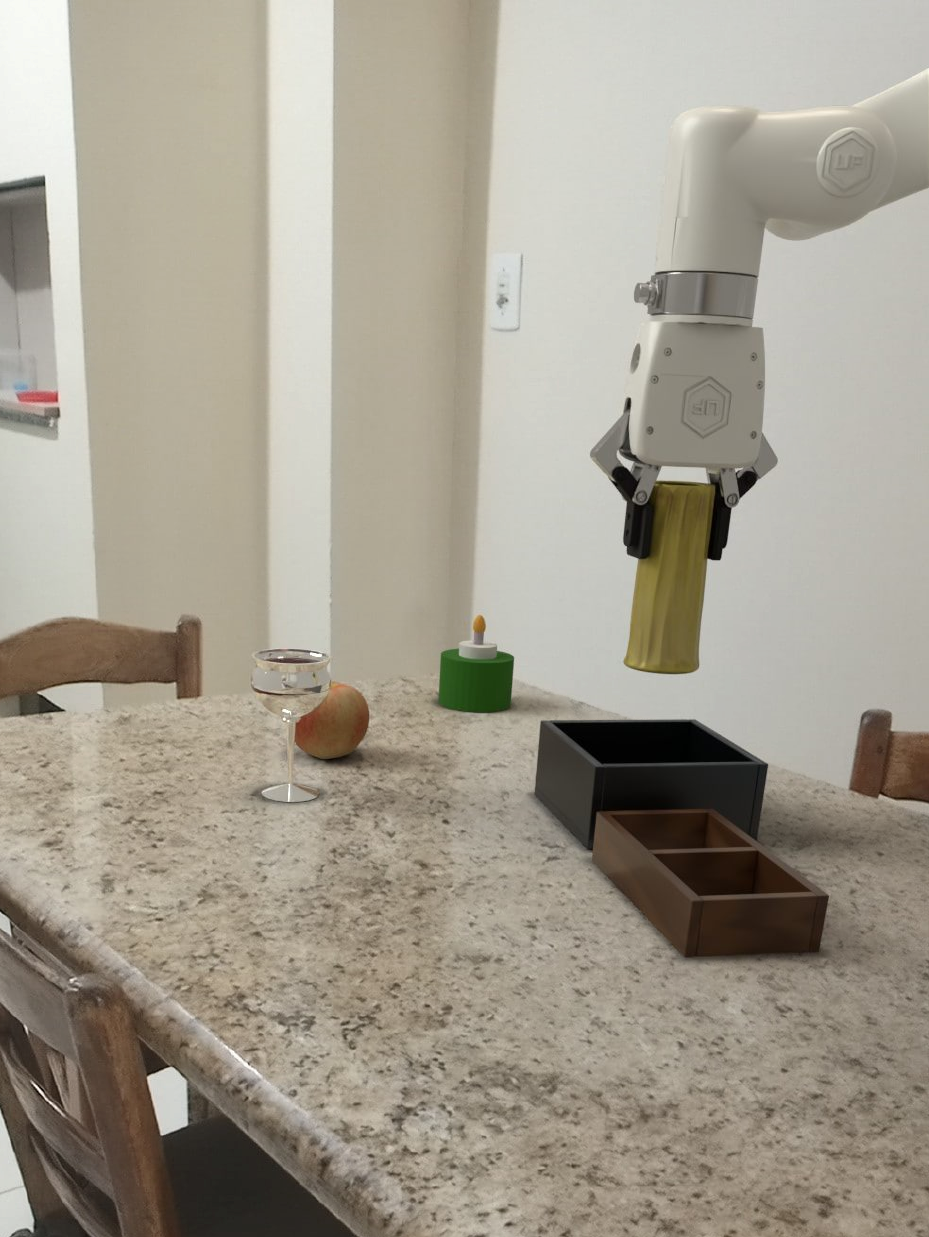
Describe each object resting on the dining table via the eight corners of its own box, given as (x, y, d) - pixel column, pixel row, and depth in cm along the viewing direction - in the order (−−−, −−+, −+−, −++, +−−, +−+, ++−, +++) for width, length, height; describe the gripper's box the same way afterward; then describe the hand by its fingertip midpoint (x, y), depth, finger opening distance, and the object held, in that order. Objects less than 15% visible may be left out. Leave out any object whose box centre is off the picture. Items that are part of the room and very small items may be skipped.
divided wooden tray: (706, 856, 103) (713, 808, 101) (819, 951, 86) (829, 895, 85) (591, 860, 101) (596, 811, 99) (684, 958, 84) (692, 900, 83)
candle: (516, 699, 151) (522, 612, 147) (504, 715, 144) (510, 624, 140) (446, 692, 153) (451, 606, 149) (431, 707, 145) (435, 617, 142)
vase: (699, 663, 108) (722, 483, 102) (697, 677, 102) (721, 488, 97) (626, 656, 109) (644, 478, 103) (619, 671, 103) (638, 483, 98)
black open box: (686, 791, 119) (695, 719, 117) (756, 844, 106) (768, 764, 104) (534, 794, 116) (540, 720, 114) (587, 849, 103) (595, 766, 100)
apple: (305, 770, 120) (306, 684, 117) (273, 748, 127) (273, 666, 124) (382, 762, 124) (385, 679, 121) (348, 741, 130) (350, 662, 127)
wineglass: (287, 810, 109) (288, 668, 104) (235, 791, 113) (234, 653, 108) (345, 795, 113) (348, 658, 109) (293, 777, 118) (294, 645, 113)
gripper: (610, 294, 90) (585, 562, 97) (833, 309, 94) (795, 566, 101) (575, 299, 97) (555, 549, 104) (785, 313, 101) (752, 553, 107)
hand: (673, 555), depth 102 cm, fingers closed on vase, 5 cm apart
